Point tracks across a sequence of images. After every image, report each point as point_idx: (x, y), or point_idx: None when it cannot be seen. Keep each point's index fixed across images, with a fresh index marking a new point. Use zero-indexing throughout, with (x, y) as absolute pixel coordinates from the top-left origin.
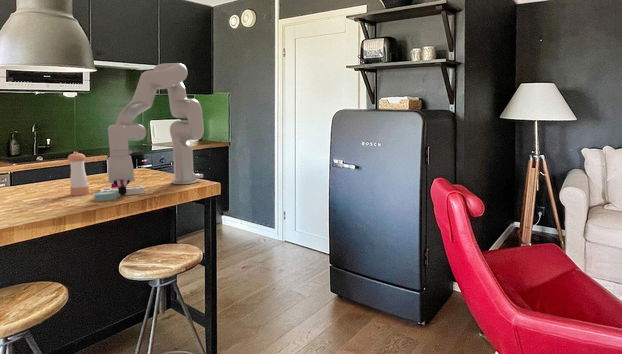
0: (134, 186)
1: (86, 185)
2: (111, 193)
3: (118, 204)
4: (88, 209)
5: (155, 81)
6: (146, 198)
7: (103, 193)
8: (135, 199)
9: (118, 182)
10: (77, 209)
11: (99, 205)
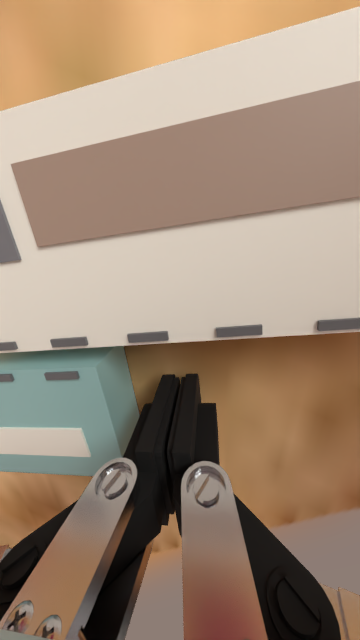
0: None
1: None
2: (89, 461)
3: (165, 542)
4: None
5: None
6: (352, 499)
7: (23, 443)
8: (269, 490)
9: (101, 628)
10: (4, 532)
11: None
